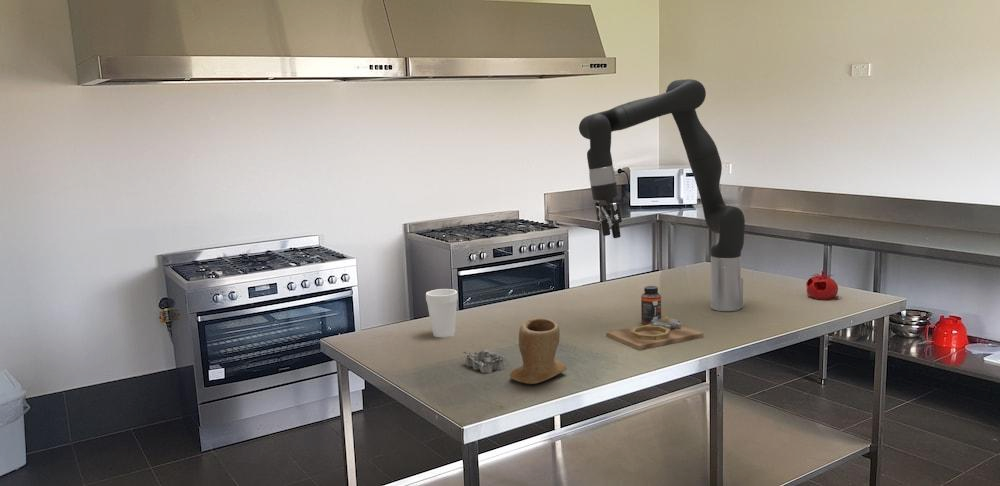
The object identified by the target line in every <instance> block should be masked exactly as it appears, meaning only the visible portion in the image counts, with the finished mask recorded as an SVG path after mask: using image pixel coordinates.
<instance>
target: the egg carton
mask: <svg viewBox="0 0 1000 486" xmlns="http://www.w3.org/2000/svg"><path fill="white" fill-rule="evenodd" d="M463 353H464V354H465V355H466V358H465V365H466V367H472V369H473V370H480V373H481V374H482V373H488V374H491V373H493V371H495V370H497V371H501V370H503V368H505V367H504V365H505V364H504V363H505V362H504V359H505V357H506V355H501V354H500V353H498V352H494V351H492V350H491V349H489V348H488V349H484V350H480V351H478V352H477V351H475V352H474V353H473V354H472V355H471V352H468V351H465V350H463ZM482 361H483V362H482Z"/></svg>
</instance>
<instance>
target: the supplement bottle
mask: <svg viewBox="0 0 1000 486" xmlns="http://www.w3.org/2000/svg"><path fill="white" fill-rule="evenodd" d="M658 289H659V288H658V286H656V285H647V286H644V290H643V293H642V294H641V296H640V297H641V300H640V304H641V307H640V308H641V316H640V317H641V318H640V319H641V324H643V325H648V324H651V321H652V320H656V319H661V318H662V296H661V294H660V293H659V290H658Z"/></svg>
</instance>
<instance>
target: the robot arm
mask: <svg viewBox="0 0 1000 486" xmlns="http://www.w3.org/2000/svg"><path fill="white" fill-rule="evenodd" d="M706 95H707V93H706V88H705V86H704V85H703V83H702V82H700V81H699V80H697V79H691V78H690V79H689V78H686V79H677V80H673V81H671V82H670V83H669V84H668V86H667V87H666V89H665V92H663V93H661V94H658V95H653V96H649V97H644V98H639V99H636V100H632V101H628V102H625V103H623V104H620V105H617V106H614V107H613V108H610V109H608V110H604V111H600V112H597V113H592V114H589V115H587V116H584V117H583V118H582V120H580V123H579V125H578V129H579V130H578V131H579V133H580V135H581V136H582V137H583V138H585V139H586V140H589V148H588V150H587V152H586V156H587V157H586V159H587V165H588V171H589V172H588V174H589V183H590V188H591V189H590V191H591V197H592V200H593V201H595V202H594V205H595V214H596V221H597V222H599V224H600V226H601V232H602V236H604V237H607V236H610V235H611V234H612V238H613V239H618V238H620V237H621V229H620V228H621V227H620V225H621V223H622V222H623V220H622V215H621V209H620V203H619V201H617V202H615V201H614V198H617V197H619V191H618V185H617V177H616V173H615V172H616V171H615V169H614V165H613V159H612V158H613V157H612V153H611V147H612V133H613V132H616V131H622V130H627V129H629V128H631V127H635V126H637V125H640V124H643V123H646V122H648V121H651V120H654V119H656V118H659V117H661V116H666V115H669V114H671V115H672V117H673V119H674V121H675V124H676V126H677V129H678V131H679V135H680V138H681V141H682V144H683V147H684V150H685V153H686V158H687V160H688V163H689V166H690V168H691V172H692V175H693V177H694V181H695V184H696V187H697V190H698V194H699V197H700V203H701V206H702V210H703V216H704V220H705V223H706V226H707V227H708V229H709V230H710V232H713V233H715V234H718V235H719V238H718V242H717V244H715V245H711V248H710V309H711V310H714V311H718V312H735V311H739V310H741V309H742V308H744V279H743V278H742V274H741V272H742V269H741V268H742V266H741V265H742V262H741V261H742V249H743V247H744V243H745V228H746V223H745V215H744V213H743V211H742V209H740V208H739V207H737V206H734V205H733V206H732V205H726V203H725V201H724V197H723V196H722V192H721V188H720V187H721V185H720V183H721V182H720V181H721V177H722V172H723V170H722V169H723V168H722V167H723V164H722V160H721V157H720V153H719V150H718V147H717V144H716V143H715V141H714V140H713V138H712V137H711V135H710V133H709V132H708V131H707V129H705V127H704V126H703V124H702V122H701V121H700V119H699V117H698V114H697V111H696V110H697V109H698V108H700V107H701V106H702V105H703V103H704V102H705V100H706ZM609 223H610V224H609ZM610 225H611V226H610ZM610 227H611V229H610Z"/></svg>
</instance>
